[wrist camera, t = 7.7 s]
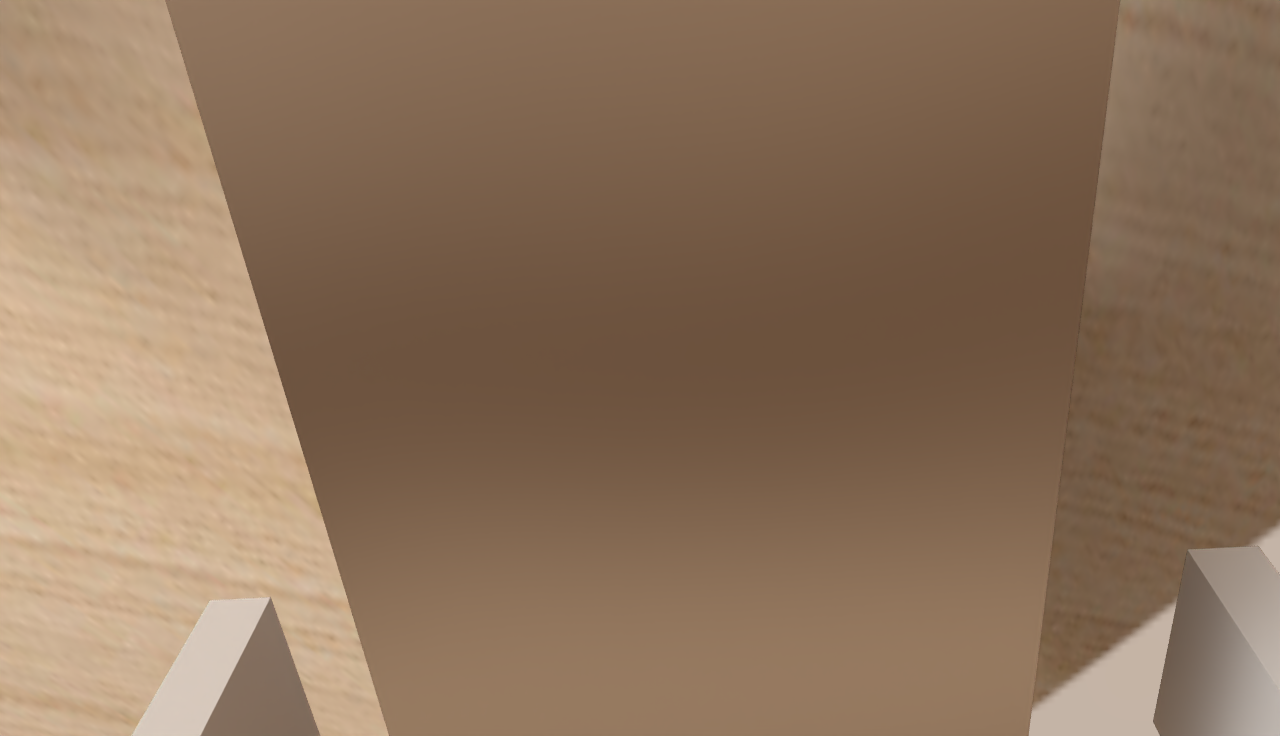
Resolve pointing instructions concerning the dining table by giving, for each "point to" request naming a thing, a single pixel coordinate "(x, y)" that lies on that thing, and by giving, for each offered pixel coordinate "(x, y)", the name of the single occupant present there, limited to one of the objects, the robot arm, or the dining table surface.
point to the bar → (673, 343)
